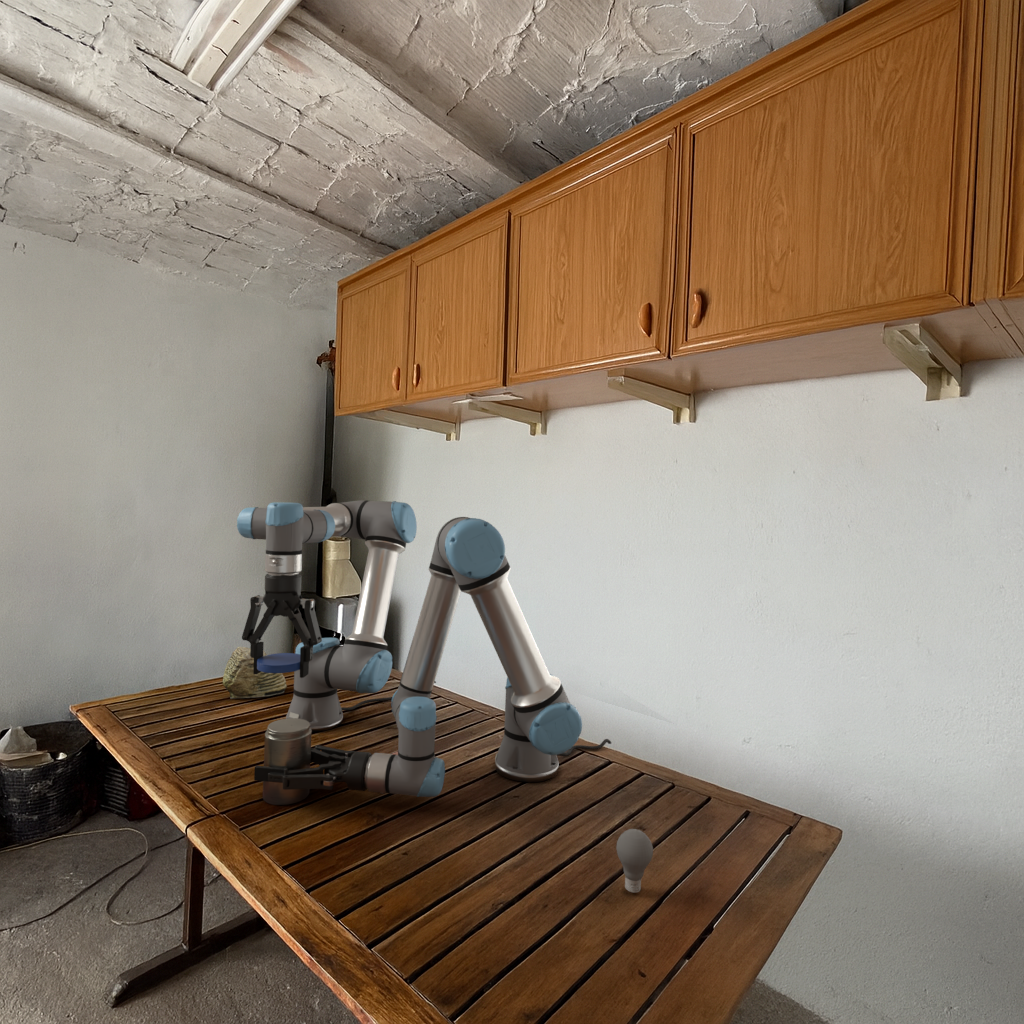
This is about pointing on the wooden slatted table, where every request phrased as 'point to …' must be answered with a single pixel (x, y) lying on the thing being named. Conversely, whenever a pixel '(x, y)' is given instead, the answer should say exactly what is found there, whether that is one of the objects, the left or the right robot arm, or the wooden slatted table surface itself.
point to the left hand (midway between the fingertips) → (281, 674)
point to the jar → (286, 757)
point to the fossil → (250, 677)
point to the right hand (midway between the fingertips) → (267, 762)
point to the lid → (279, 663)
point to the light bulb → (634, 857)
